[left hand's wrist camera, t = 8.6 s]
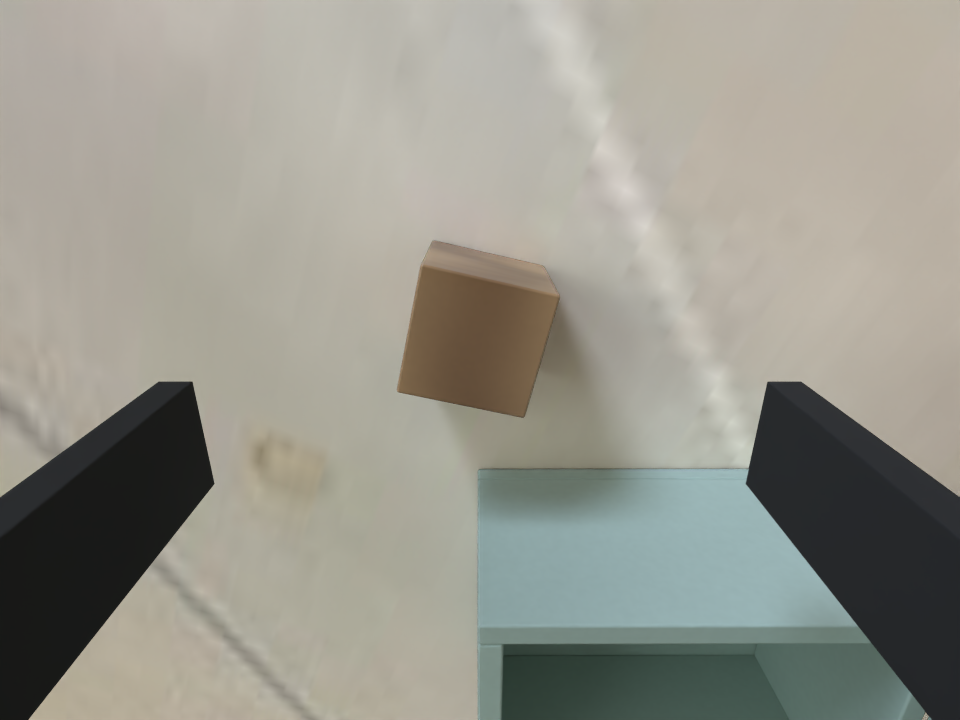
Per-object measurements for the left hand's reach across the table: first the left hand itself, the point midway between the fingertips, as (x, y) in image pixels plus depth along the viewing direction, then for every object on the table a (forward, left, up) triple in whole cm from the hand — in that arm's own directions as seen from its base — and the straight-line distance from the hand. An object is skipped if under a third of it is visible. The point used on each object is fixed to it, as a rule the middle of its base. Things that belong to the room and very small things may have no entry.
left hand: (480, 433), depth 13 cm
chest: (+14, -7, -10) cm, 18 cm away
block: (0, 0, -10) cm, 10 cm away
